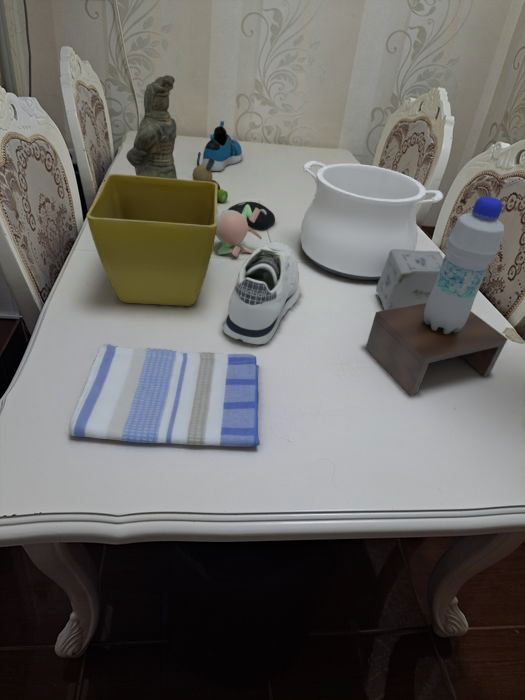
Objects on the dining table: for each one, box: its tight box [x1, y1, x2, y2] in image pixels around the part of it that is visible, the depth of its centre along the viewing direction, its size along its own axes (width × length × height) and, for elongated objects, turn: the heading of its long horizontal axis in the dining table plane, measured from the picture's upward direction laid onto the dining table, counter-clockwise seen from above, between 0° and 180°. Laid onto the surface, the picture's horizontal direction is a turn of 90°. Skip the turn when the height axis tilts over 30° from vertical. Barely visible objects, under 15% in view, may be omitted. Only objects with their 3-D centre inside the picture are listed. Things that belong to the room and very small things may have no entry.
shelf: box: [365, 303, 508, 397], centre depth 77 cm, size 12×16×7 cm
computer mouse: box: [227, 201, 276, 231], centre depth 116 cm, size 8×12×4 cm, turn 62°
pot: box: [299, 160, 444, 281], centre depth 101 cm, size 28×24×17 cm
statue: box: [125, 74, 178, 179], centre depth 102 cm, size 11×9×30 cm
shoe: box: [201, 120, 243, 172], centre depth 148 cm, size 9×23×12 cm, turn 164°
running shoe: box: [222, 241, 301, 345], centre depth 85 cm, size 11×29×12 cm, turn 170°
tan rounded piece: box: [192, 151, 229, 203], centre depth 122 cm, size 9×9×11 cm
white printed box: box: [375, 249, 444, 311], centre depth 89 cm, size 10×8×10 cm
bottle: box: [424, 195, 505, 334], centre depth 69 cm, size 7×7×20 cm
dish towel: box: [68, 343, 260, 447], centre depth 65 cm, size 17×24×3 cm
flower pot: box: [86, 173, 218, 307], centre depth 84 cm, size 19×19×17 cm
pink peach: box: [215, 204, 262, 258], centre depth 102 cm, size 12×10×9 cm
